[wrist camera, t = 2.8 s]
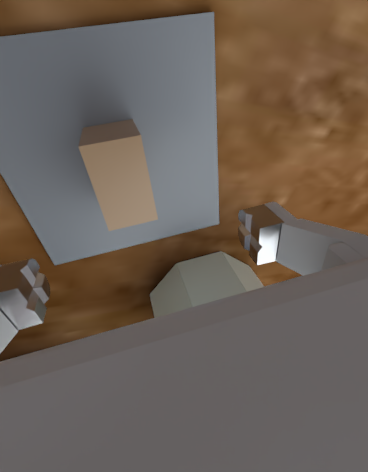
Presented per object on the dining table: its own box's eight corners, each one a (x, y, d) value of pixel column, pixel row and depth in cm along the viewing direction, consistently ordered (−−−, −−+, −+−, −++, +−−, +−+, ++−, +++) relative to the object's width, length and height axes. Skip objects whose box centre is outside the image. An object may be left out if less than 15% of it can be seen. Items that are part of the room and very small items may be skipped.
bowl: (142, 272, 23) (153, 326, 18) (251, 243, 25) (286, 286, 20) (161, 336, 30) (173, 388, 25) (246, 310, 31) (271, 354, 27)
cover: (-64, 46, 12) (-142, 41, 8) (207, 14, 14) (248, -3, 10) (56, 257, 21) (46, 304, 17) (215, 218, 23) (239, 251, 19)
